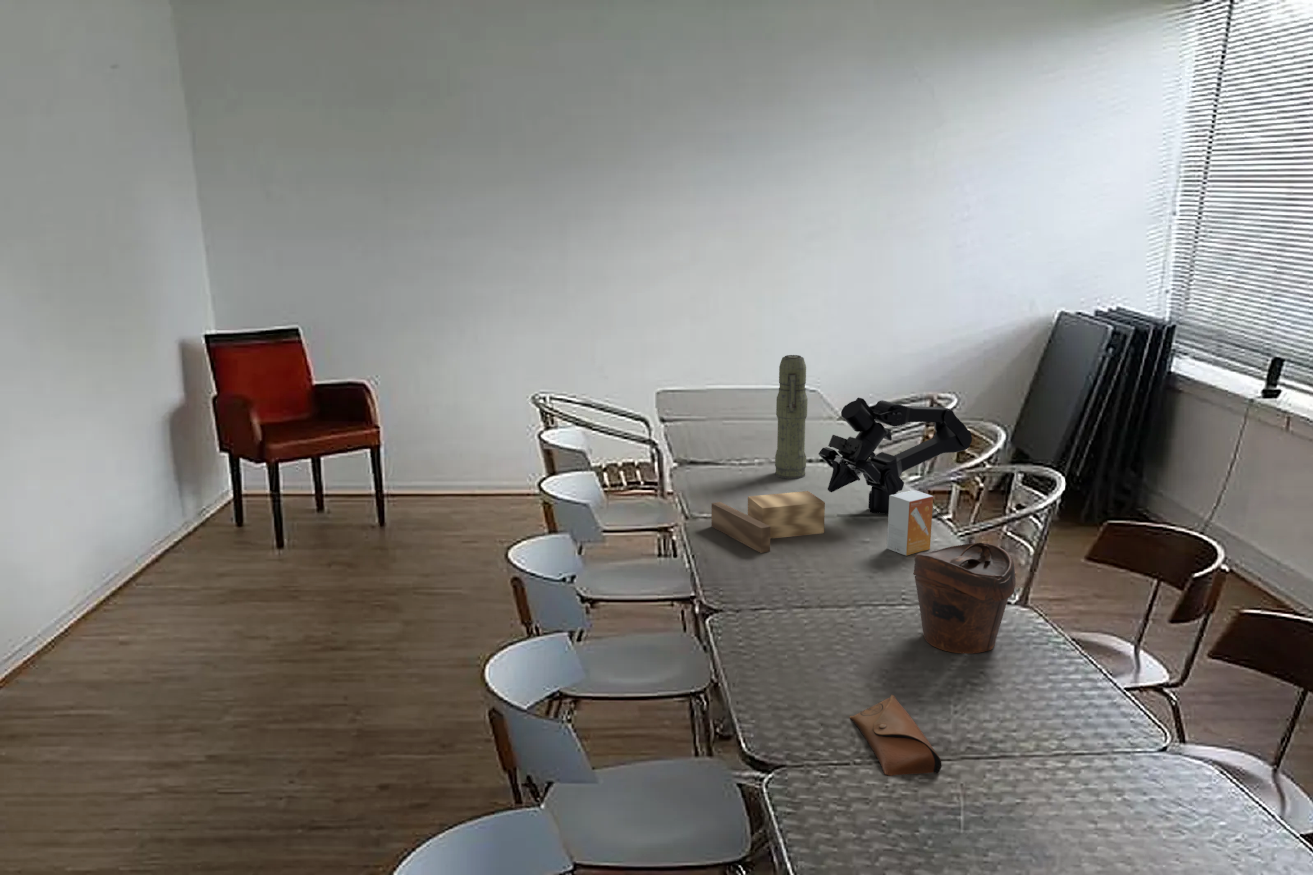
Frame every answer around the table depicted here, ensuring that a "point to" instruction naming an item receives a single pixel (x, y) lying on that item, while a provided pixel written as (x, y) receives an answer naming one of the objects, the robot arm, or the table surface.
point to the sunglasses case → (896, 739)
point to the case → (963, 595)
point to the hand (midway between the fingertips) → (829, 491)
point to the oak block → (789, 513)
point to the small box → (909, 522)
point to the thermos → (791, 418)
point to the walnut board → (741, 527)
